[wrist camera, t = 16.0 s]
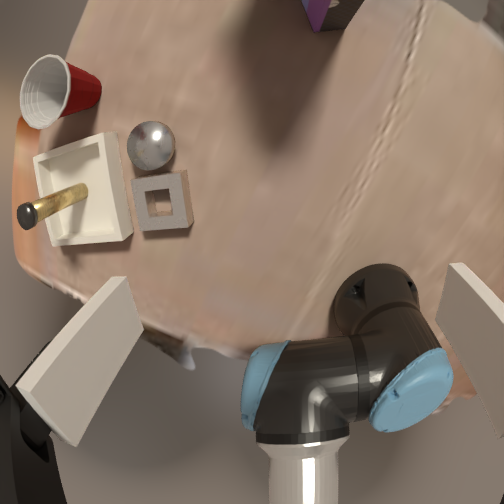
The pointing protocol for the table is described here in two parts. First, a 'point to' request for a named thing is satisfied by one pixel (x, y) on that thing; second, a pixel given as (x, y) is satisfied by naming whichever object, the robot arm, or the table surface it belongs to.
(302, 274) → the table surface
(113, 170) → the tray
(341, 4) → the cereal box
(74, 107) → the plastic cup
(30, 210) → the lock pin
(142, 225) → the bracket
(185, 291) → the table surface
